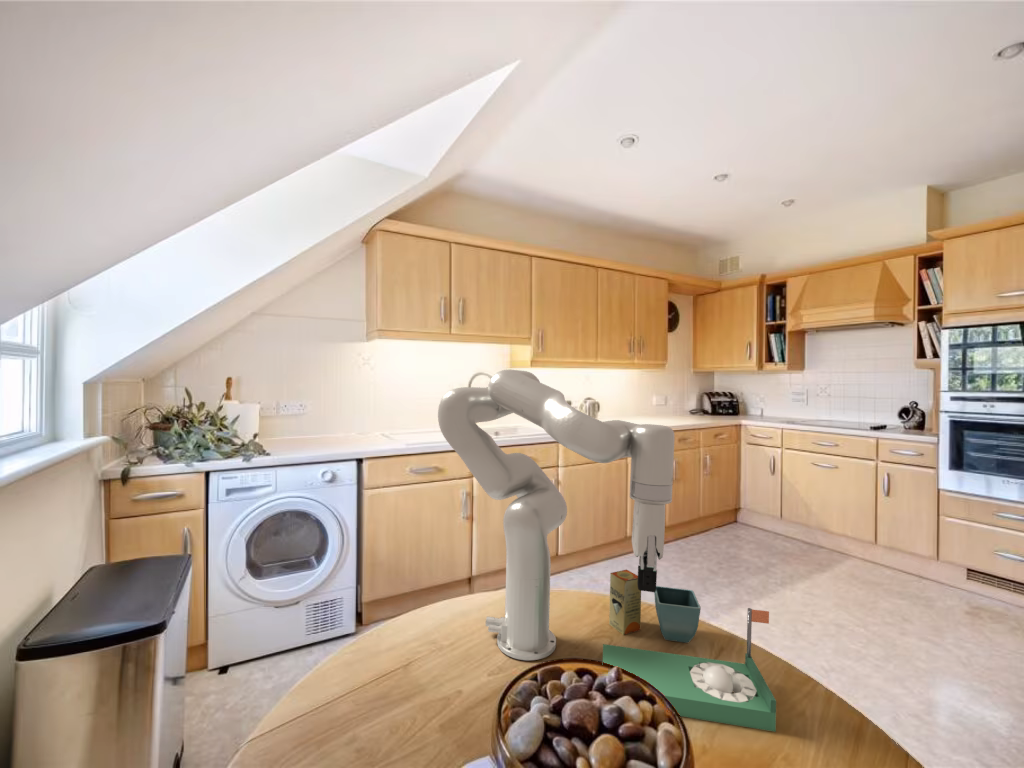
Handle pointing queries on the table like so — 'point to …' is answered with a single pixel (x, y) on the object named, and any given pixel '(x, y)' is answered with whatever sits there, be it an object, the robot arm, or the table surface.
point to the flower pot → (677, 613)
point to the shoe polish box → (624, 602)
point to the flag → (754, 617)
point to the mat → (701, 686)
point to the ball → (718, 679)
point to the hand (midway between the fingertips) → (646, 589)
